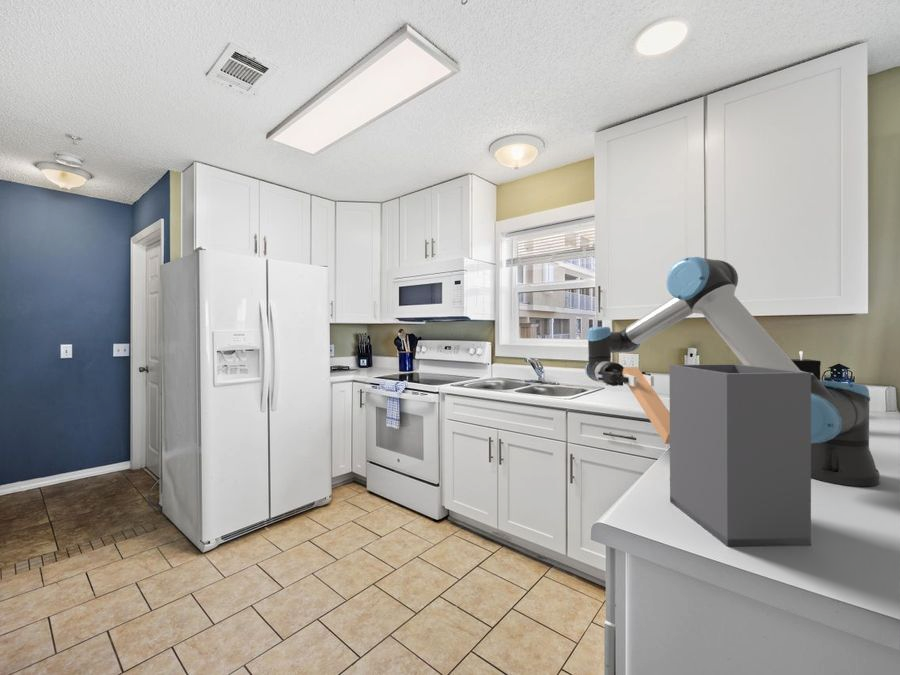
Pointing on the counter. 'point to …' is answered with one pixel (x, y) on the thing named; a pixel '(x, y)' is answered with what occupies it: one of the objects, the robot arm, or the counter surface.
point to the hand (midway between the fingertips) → (643, 381)
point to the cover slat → (650, 403)
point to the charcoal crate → (742, 452)
